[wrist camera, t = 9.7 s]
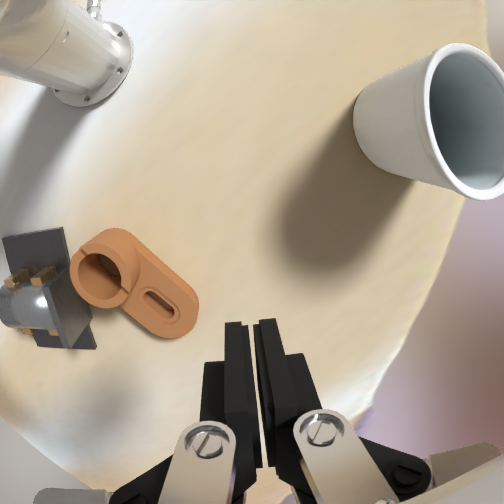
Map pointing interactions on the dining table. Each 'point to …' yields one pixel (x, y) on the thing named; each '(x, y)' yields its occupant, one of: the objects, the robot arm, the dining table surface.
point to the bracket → (134, 283)
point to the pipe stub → (44, 292)
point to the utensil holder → (438, 121)
